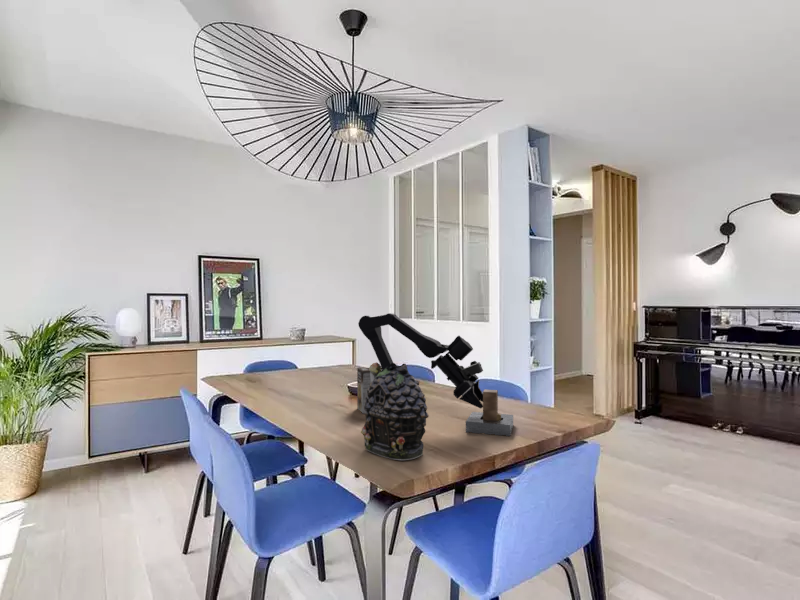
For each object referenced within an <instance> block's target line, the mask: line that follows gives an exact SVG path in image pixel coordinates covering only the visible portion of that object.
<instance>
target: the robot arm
mask: <svg viewBox="0 0 800 600" xmlns="http://www.w3.org/2000/svg"><path fill="white" fill-rule="evenodd" d="M384 326H390V327H391V328H392V329H394V330H395V331H397V332H398V333H400V334H401V335H402V336H404V337H405V338H406V339H408V340H409V341H411V342H412V343H413V344H414V345H415V346H416V347H417V348H418V350H419V351H420V352H421V353H422V354H423V355H424V356H425V357H426V358H429V359H433V358H435V357H437V358H436V359H435V360H430V363H431V367H430V369H432V370H433V369H435V368H436V367H437V368H438V369H439V370H440V371H441V372H442V373H443V375H445V376H446V380H447V381H450V382H451V383H452V384H453V386H455V387H454V389H453V396H454V397H455V398H456V399H459V400H460V401H463V402H465V403H468V404H470V405H472V406H475V407H477V408H479V409H483V391H482V390H481V388H480V379H479V377H478V376H477V375H478V374H481V373H483V372H484V370H483V366H482V364H481V362H478V361H476V360H472V361H471V362H470V365H469V366H466V367H465V366H463V365H459V364H458V362H456V361H463V360H464V358H466V356H468V355H469V354H470V353H471V352H472V351H474V348H473V346H472V345H471V343H469V341H466V340H465V339H464V338H462V337H461V336H460V335H457V336H455V338H454V339H453V340H452V342H450V344H442V343H441V342H440V341H439V340H437V339H434V338H433V337H430V336H427V335H425V334H423V333H421V332H420V331H418V330H417V329H415V328H414V327H412V326H411V325H410V324H409V323H408V322H406V321H405V320H403V319H402V318H401V317H399V316H398V315H397V314H396V313H392V312H391V313H386V314H383V315H378V316H376V315H364V316H361V317H360V318H359V320H358V327H359V330H360V331H361V332H362V334H363V336H365V337H366V338H367V340H369V342H370V344H371V346H372V349H373V351H374V353H375V355H376V358H377V360H378V362H379V364H380V366H381V367H382V368H383V369H384V368H386V367H387V369H388V368H390V367H391V363H394V361H393V359H392V356H391V354H390V352H389V350H388V348H387V345H386V343H385V341H384V339H383V336H382V327H384ZM444 353H445V354H444ZM442 354H444V355H442Z"/></svg>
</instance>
